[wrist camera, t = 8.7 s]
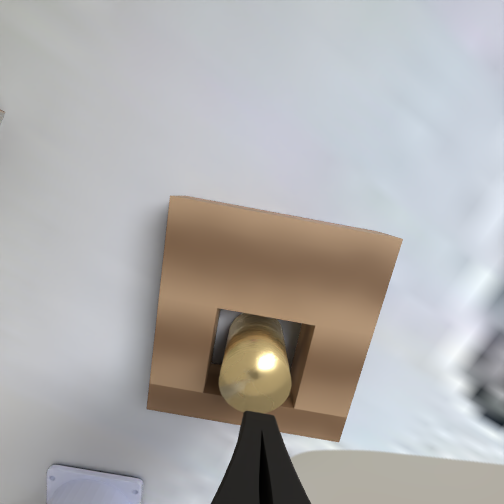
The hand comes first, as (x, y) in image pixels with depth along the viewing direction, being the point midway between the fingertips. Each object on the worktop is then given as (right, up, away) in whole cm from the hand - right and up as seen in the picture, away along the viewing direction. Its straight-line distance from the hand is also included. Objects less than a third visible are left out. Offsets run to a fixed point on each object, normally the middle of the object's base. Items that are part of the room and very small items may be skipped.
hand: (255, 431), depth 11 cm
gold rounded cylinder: (0, +2, +8) cm, 8 cm away
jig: (+1, +4, +7) cm, 8 cm away
